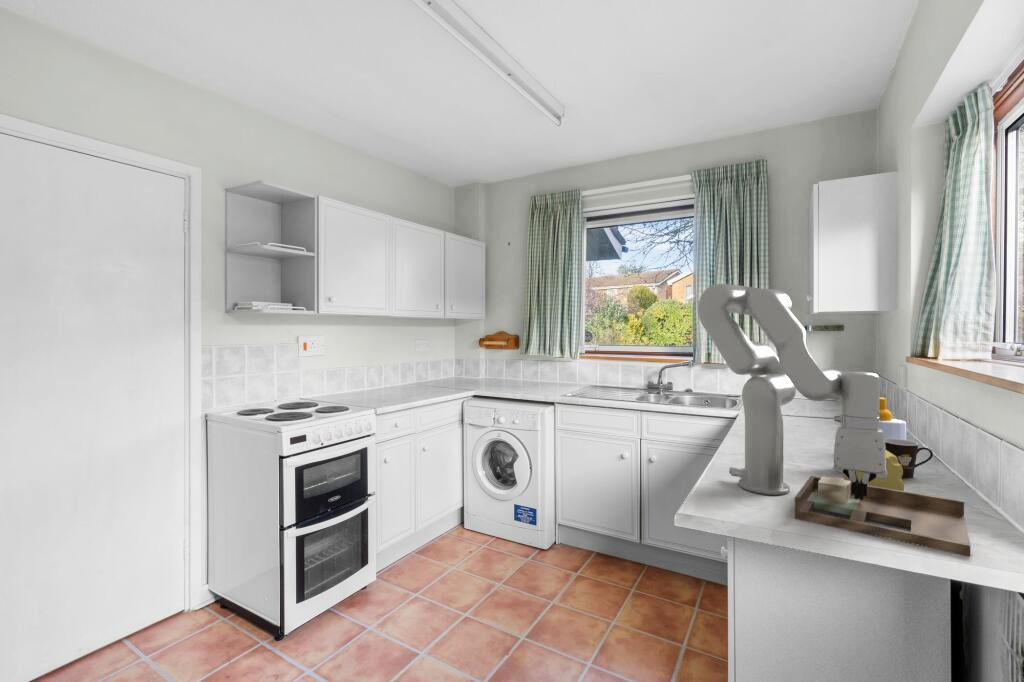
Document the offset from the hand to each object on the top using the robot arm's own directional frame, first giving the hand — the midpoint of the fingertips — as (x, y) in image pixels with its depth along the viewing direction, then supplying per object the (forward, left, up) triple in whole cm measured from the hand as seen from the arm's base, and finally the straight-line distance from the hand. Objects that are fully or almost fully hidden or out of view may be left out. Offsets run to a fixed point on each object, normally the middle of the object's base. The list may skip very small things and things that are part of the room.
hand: (859, 497), depth 118 cm
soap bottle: (+1, +62, -3) cm, 62 cm away
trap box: (+4, -5, -3) cm, 7 cm away
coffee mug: (+8, +42, -3) cm, 43 cm away
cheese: (+1, +23, -4) cm, 23 cm away
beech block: (-5, +1, -1) cm, 5 cm away
